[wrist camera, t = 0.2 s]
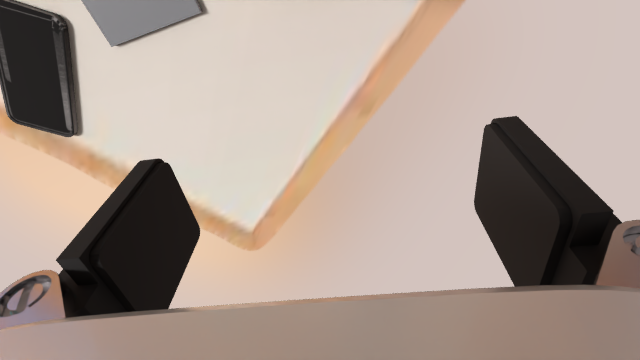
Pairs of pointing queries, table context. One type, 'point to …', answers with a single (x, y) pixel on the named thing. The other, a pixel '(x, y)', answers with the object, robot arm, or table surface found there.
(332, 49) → the table surface
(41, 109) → the phone
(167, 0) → the coaster
